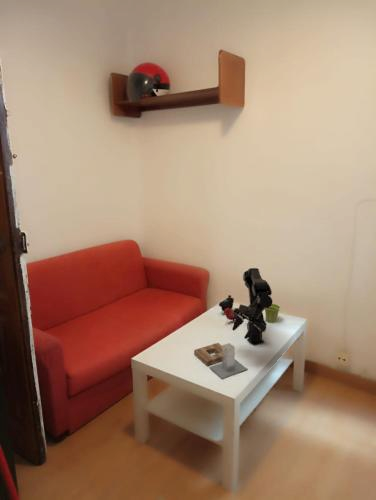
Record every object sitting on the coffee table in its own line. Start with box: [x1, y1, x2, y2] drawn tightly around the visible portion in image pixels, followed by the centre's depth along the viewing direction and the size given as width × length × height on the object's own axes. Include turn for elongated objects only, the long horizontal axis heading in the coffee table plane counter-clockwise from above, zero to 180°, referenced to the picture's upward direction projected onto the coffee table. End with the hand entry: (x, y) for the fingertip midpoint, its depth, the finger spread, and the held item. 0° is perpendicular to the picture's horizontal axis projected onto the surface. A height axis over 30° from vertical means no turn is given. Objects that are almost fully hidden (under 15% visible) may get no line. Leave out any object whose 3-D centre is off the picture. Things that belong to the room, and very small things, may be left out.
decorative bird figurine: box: [223, 308, 235, 324], centre depth 214 cm, size 3×18×10 cm, turn 126°
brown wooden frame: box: [193, 342, 223, 367], centre depth 178 cm, size 14×12×2 cm
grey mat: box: [208, 359, 248, 380], centre depth 167 cm, size 14×10×1 cm
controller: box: [218, 294, 235, 313], centre depth 226 cm, size 4×12×10 cm, turn 140°
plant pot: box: [264, 303, 281, 323], centre depth 214 cm, size 9×9×9 cm
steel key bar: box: [221, 342, 236, 371], centre depth 165 cm, size 4×4×11 cm
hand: (238, 334), depth 171 cm, fingers open, 9 cm apart
